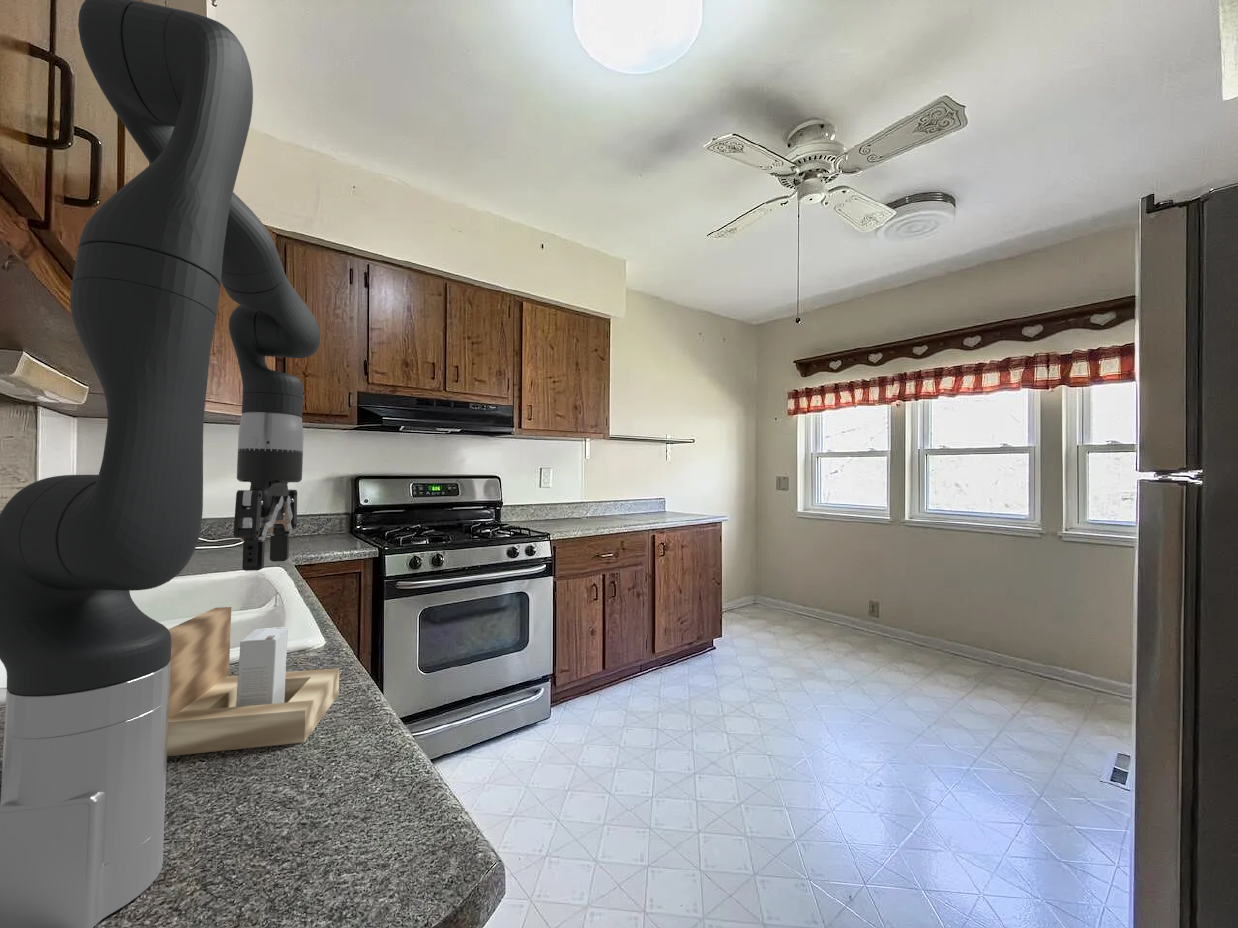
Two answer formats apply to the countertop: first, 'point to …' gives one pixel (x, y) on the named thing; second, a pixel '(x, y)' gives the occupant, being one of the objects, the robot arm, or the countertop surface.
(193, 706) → the wooden frame with backboard
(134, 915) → the countertop surface
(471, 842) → the countertop surface
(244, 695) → the skincare box
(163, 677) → the robot arm
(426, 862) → the countertop surface
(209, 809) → the countertop surface
